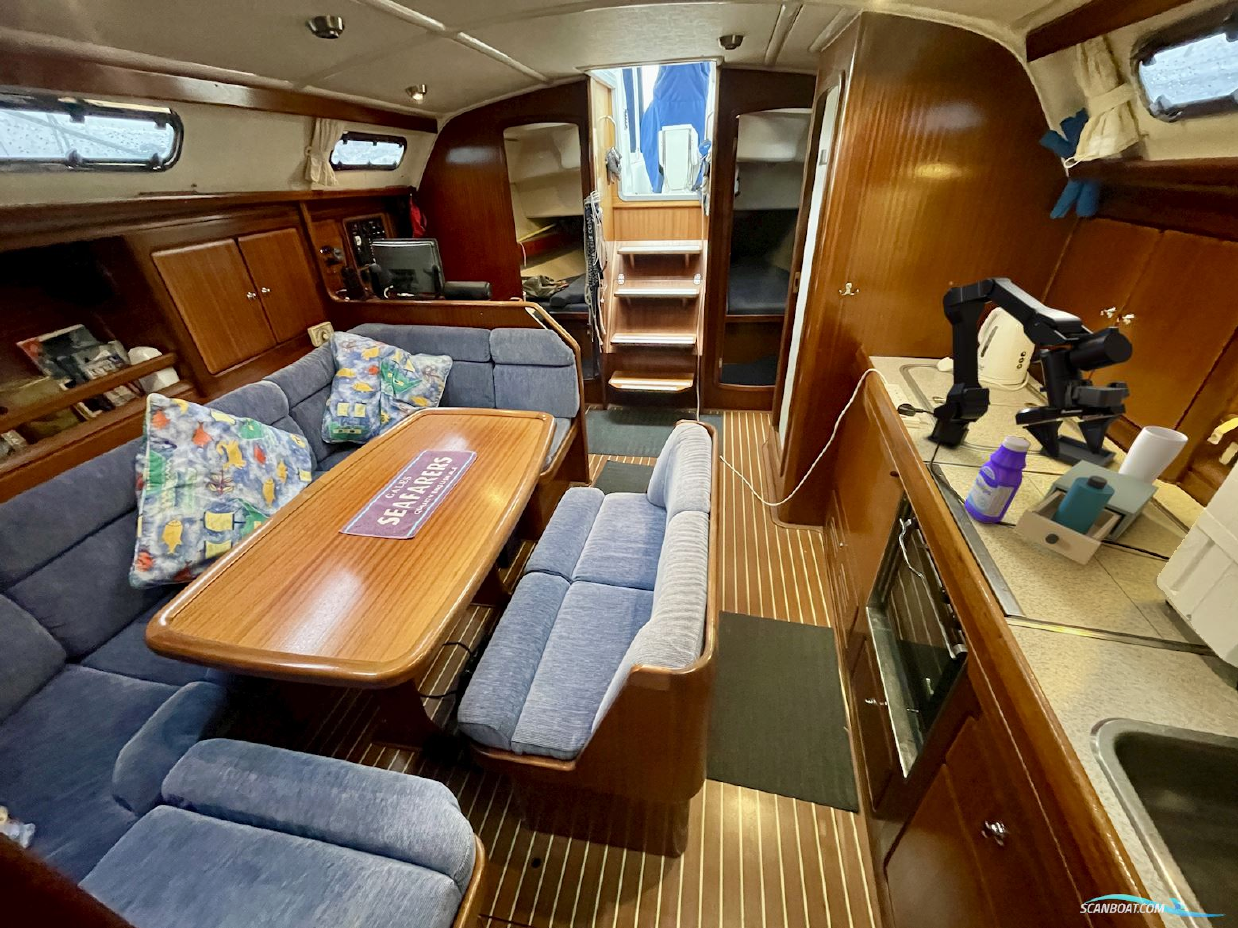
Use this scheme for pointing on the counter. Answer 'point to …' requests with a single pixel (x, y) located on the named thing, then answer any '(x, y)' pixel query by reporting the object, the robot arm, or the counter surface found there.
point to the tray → (1080, 452)
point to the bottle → (998, 481)
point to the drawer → (1064, 530)
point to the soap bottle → (1083, 503)
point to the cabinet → (1123, 502)
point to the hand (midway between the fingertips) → (1076, 456)
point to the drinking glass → (1152, 453)
